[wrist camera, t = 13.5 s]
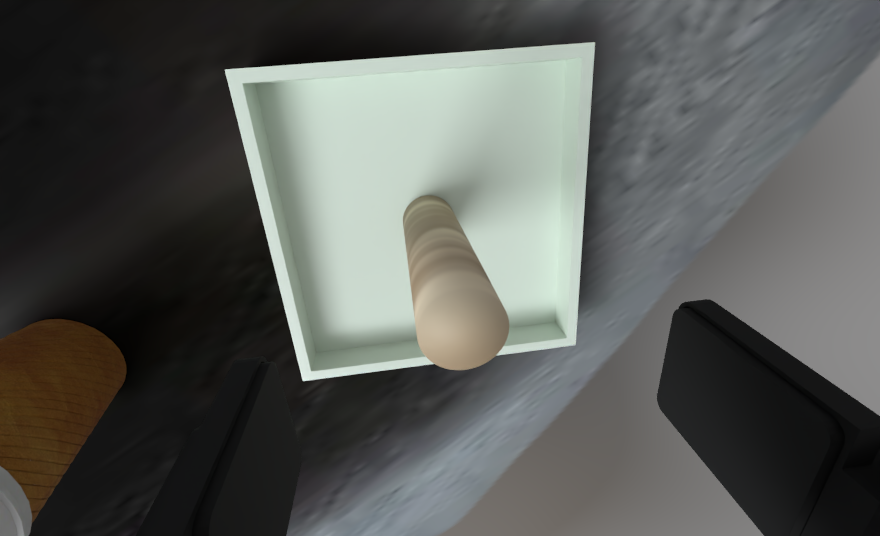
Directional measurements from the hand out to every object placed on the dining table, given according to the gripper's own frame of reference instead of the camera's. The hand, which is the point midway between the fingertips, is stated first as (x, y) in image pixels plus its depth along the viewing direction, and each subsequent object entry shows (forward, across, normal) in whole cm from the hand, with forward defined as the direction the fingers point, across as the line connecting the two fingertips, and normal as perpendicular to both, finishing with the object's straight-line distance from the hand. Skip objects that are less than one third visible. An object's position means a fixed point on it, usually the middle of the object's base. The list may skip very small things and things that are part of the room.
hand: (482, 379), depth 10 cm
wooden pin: (+16, 0, +1) cm, 16 cm away
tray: (+16, 0, +1) cm, 17 cm away
